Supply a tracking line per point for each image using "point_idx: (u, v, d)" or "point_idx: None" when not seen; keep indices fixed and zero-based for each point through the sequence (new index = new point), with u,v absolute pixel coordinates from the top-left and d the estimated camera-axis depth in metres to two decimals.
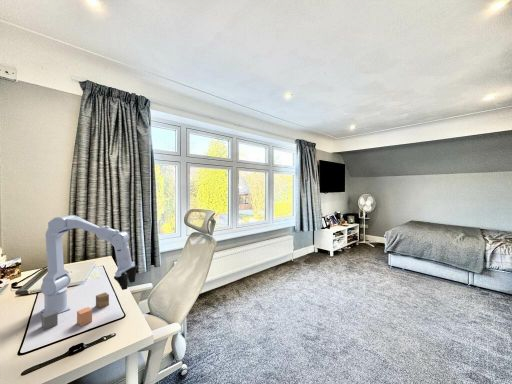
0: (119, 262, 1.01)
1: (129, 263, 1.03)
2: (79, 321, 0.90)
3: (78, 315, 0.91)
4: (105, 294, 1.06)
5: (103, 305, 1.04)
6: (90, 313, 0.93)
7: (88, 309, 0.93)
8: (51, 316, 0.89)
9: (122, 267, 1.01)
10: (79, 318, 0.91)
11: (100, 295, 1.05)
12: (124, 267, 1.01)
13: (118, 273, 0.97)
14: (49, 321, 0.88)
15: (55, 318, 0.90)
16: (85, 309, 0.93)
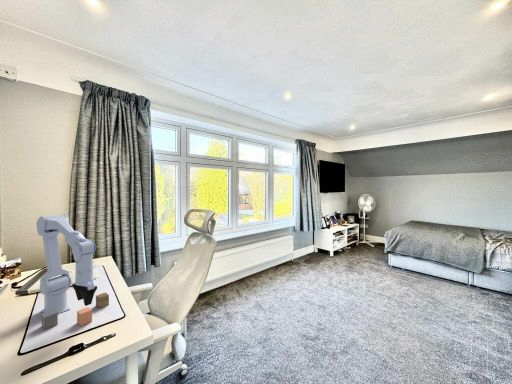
0: (84, 275, 0.90)
1: (92, 275, 0.94)
2: (79, 321, 0.90)
3: (78, 315, 0.91)
4: (105, 294, 1.06)
5: (103, 305, 1.04)
6: (90, 313, 0.93)
7: (88, 309, 0.93)
8: (51, 316, 0.89)
9: (87, 280, 0.91)
10: (79, 318, 0.91)
11: (100, 295, 1.05)
12: (89, 280, 0.91)
13: (92, 285, 0.88)
14: (49, 321, 0.88)
15: (55, 318, 0.90)
16: (85, 309, 0.93)
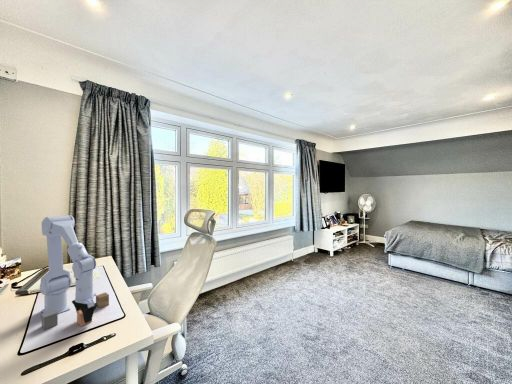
0: (84, 292, 0.90)
1: (92, 292, 0.94)
2: (79, 321, 0.90)
3: (78, 315, 0.91)
4: (105, 294, 1.06)
5: (103, 305, 1.04)
6: None
7: None
8: (51, 316, 0.89)
9: (87, 297, 0.91)
10: (79, 318, 0.91)
11: (100, 295, 1.05)
12: (89, 297, 0.92)
13: (92, 303, 0.89)
14: (49, 321, 0.88)
15: (55, 318, 0.90)
16: None
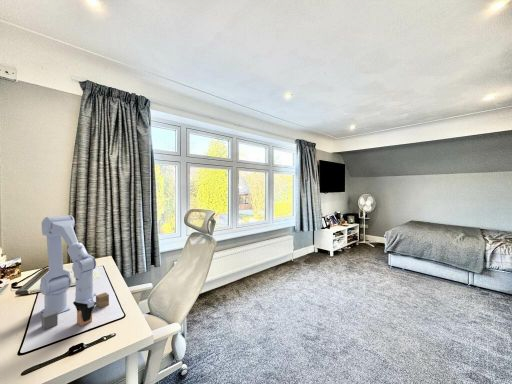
0: (84, 292, 0.90)
1: (92, 292, 0.94)
2: (79, 321, 0.90)
3: (78, 315, 0.91)
4: (105, 294, 1.06)
5: (103, 305, 1.04)
6: None
7: None
8: (51, 316, 0.89)
9: (87, 297, 0.91)
10: (79, 318, 0.91)
11: (100, 295, 1.05)
12: (89, 296, 0.92)
13: (92, 303, 0.89)
14: (49, 321, 0.88)
15: (55, 318, 0.90)
16: None
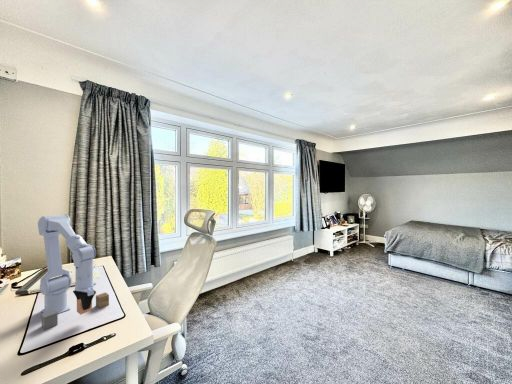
0: (84, 280, 0.90)
1: (92, 281, 0.94)
2: (79, 309, 0.90)
3: (78, 304, 0.91)
4: (105, 294, 1.06)
5: (103, 305, 1.04)
6: None
7: None
8: (51, 316, 0.89)
9: (87, 286, 0.91)
10: (78, 306, 0.90)
11: (100, 295, 1.05)
12: (89, 285, 0.92)
13: (92, 291, 0.89)
14: (49, 321, 0.88)
15: (55, 318, 0.90)
16: None
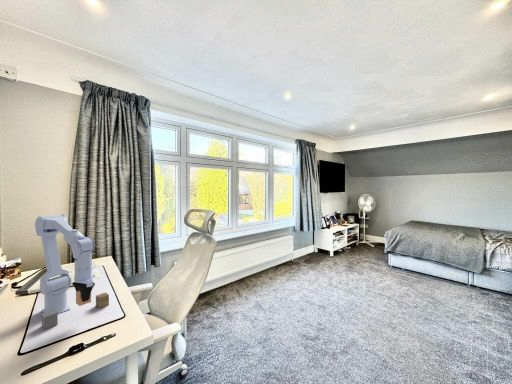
0: (83, 272, 0.91)
1: (91, 273, 0.94)
2: (78, 301, 0.91)
3: (77, 295, 0.91)
4: (105, 294, 1.06)
5: (103, 305, 1.04)
6: None
7: None
8: (51, 316, 0.89)
9: (86, 278, 0.91)
10: (78, 298, 0.91)
11: (100, 295, 1.05)
12: (88, 277, 0.92)
13: (91, 282, 0.89)
14: (49, 321, 0.88)
15: (55, 318, 0.90)
16: None
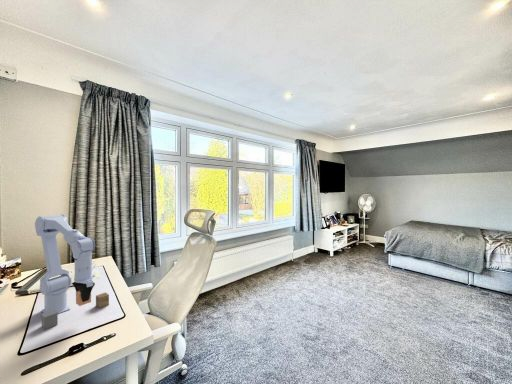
0: (83, 272, 0.91)
1: (91, 273, 0.94)
2: (78, 301, 0.91)
3: (77, 295, 0.91)
4: (105, 294, 1.06)
5: (103, 305, 1.04)
6: None
7: None
8: (51, 316, 0.89)
9: (86, 278, 0.91)
10: (78, 298, 0.91)
11: (100, 295, 1.05)
12: (88, 277, 0.92)
13: (91, 282, 0.89)
14: (49, 321, 0.88)
15: (55, 318, 0.90)
16: None
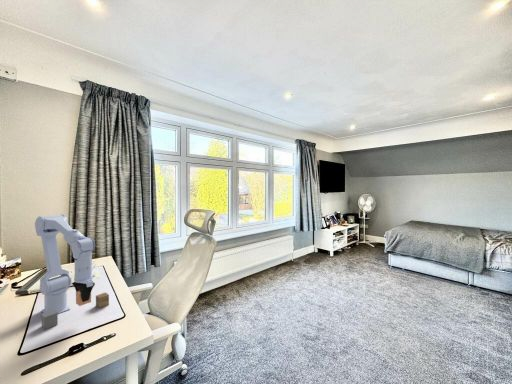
0: (83, 272, 0.91)
1: (91, 273, 0.94)
2: (78, 301, 0.91)
3: (77, 295, 0.91)
4: (105, 294, 1.06)
5: (103, 305, 1.04)
6: None
7: None
8: (51, 316, 0.89)
9: (86, 278, 0.91)
10: (78, 298, 0.91)
11: (100, 295, 1.05)
12: (88, 277, 0.92)
13: (91, 282, 0.89)
14: (49, 321, 0.88)
15: (55, 318, 0.90)
16: None
